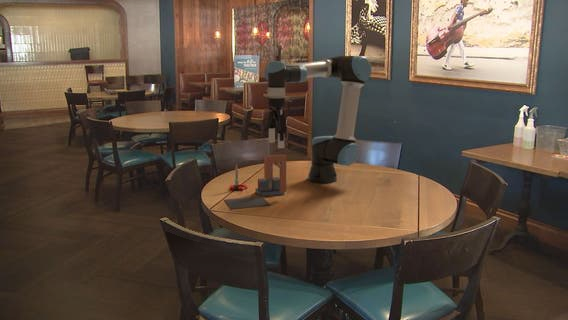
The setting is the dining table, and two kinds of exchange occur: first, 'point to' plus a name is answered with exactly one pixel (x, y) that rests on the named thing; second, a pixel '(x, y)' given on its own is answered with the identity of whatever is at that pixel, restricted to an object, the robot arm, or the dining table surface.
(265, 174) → the reddish-brown c-shaped bracket
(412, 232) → the dining table surface
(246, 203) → the mat
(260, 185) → the toilet paper holder
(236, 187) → the tow hook
